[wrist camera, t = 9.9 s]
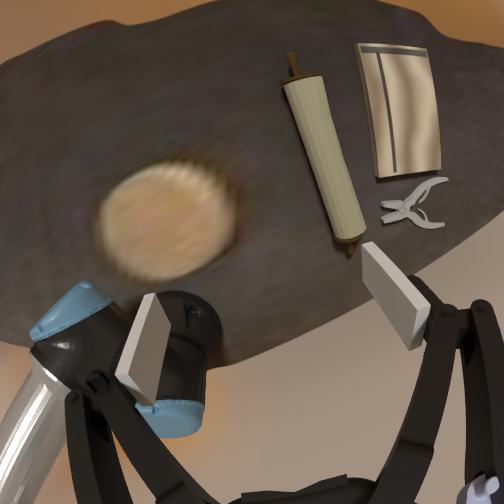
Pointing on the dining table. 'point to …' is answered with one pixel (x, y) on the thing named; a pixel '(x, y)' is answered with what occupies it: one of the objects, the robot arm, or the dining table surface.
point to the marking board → (400, 108)
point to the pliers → (404, 206)
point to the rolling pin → (324, 153)
